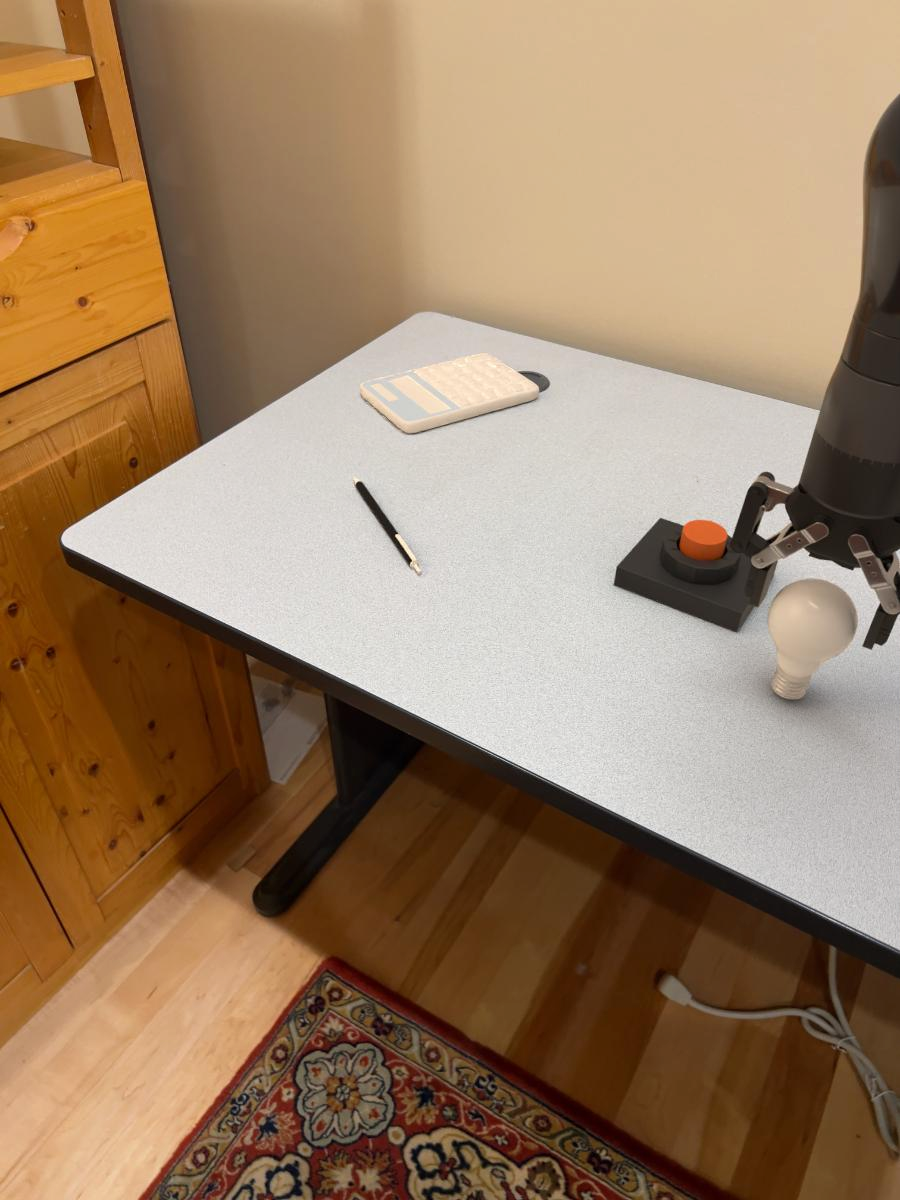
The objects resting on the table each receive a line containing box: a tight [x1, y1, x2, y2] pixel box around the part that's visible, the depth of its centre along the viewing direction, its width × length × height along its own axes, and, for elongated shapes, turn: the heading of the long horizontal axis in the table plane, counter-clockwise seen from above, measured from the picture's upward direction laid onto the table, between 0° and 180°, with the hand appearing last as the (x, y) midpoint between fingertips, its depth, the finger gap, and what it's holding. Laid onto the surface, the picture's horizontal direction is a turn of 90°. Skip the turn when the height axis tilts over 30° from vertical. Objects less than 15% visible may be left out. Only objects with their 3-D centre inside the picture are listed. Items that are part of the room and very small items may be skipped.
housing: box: [613, 517, 779, 633], centre depth 82 cm, size 12×10×4 cm
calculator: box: [359, 352, 540, 434], centre depth 113 cm, size 13×20×2 cm, turn 121°
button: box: [679, 519, 729, 561], centre depth 81 cm, size 4×4×2 cm
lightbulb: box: [766, 578, 859, 700], centre depth 68 cm, size 6×6×11 cm
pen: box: [353, 476, 423, 575], centre depth 90 cm, size 1×19×1 cm, turn 24°
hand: (812, 621), depth 67 cm, fingers open, 8 cm apart
